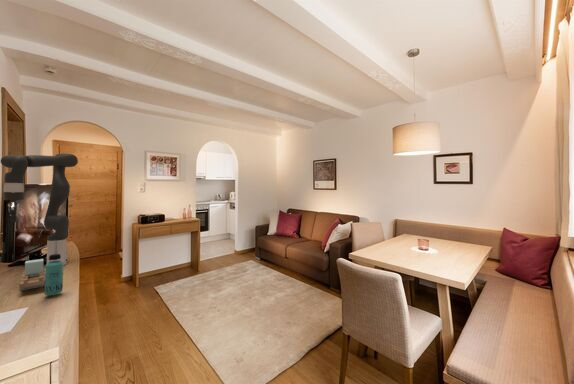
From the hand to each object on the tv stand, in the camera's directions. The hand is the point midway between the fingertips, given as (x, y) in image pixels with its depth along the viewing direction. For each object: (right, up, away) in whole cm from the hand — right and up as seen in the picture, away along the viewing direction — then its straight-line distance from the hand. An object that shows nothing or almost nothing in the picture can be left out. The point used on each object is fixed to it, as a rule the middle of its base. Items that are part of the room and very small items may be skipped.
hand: (13, 222), depth 134 cm
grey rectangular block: (+21, -26, -9) cm, 35 cm away
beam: (+20, -33, -8) cm, 39 cm away
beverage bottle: (+39, -34, -17) cm, 55 cm away
